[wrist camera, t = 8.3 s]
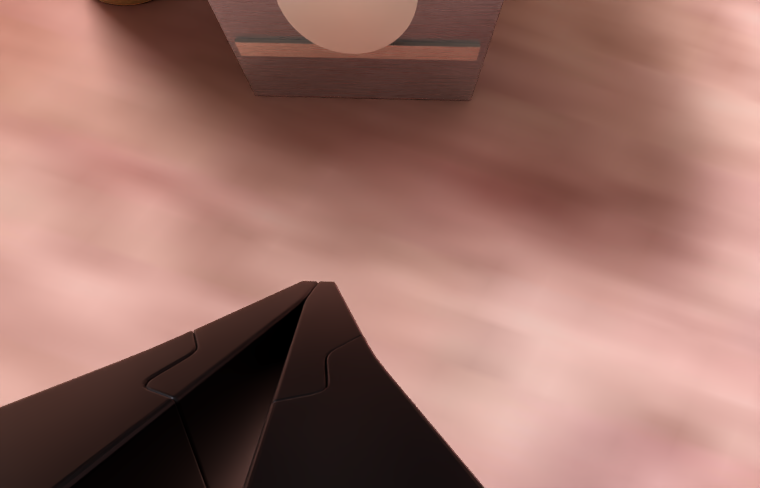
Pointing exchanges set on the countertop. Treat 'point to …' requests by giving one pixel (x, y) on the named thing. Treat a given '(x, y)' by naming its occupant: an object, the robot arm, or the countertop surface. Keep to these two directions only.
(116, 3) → the plant pot
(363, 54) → the mount
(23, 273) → the countertop surface
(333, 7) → the knob
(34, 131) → the countertop surface
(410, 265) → the countertop surface
